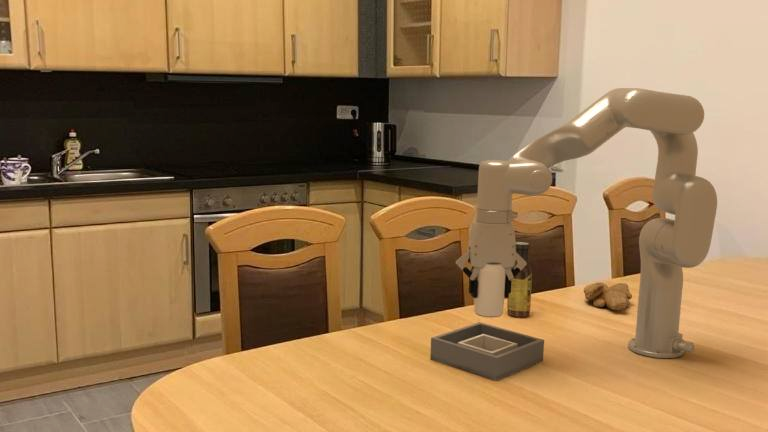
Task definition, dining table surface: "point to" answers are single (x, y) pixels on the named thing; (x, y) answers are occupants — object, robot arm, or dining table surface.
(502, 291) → the can
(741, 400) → the dining table surface
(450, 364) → the box
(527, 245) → the sauce bottle
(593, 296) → the ginger root
